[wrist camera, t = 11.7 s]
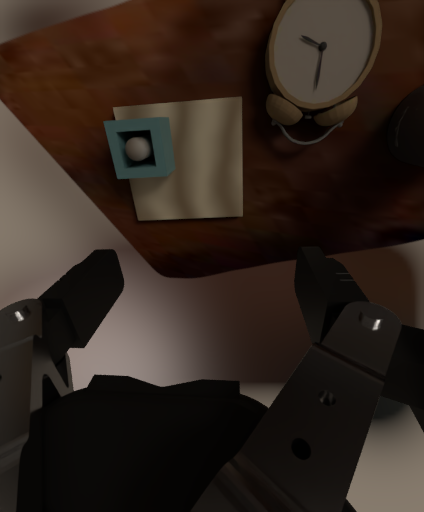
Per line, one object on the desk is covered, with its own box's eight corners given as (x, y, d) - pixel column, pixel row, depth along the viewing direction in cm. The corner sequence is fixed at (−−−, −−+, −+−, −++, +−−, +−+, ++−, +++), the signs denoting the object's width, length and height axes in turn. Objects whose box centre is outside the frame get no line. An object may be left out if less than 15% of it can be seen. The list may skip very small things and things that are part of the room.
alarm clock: (399, -35, 23) (362, 143, 28) (370, 0, 27) (342, 147, 32) (276, -34, 23) (261, 141, 28) (268, 0, 28) (256, 145, 33)
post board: (241, 97, 31) (244, 90, 23) (242, 212, 38) (245, 235, 31) (117, 108, 32) (84, 104, 25) (141, 217, 39) (120, 240, 32)
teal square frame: (168, 117, 30) (158, 117, 26) (175, 168, 33) (167, 176, 29) (121, 120, 31) (103, 121, 26) (132, 171, 33) (117, 179, 29)
